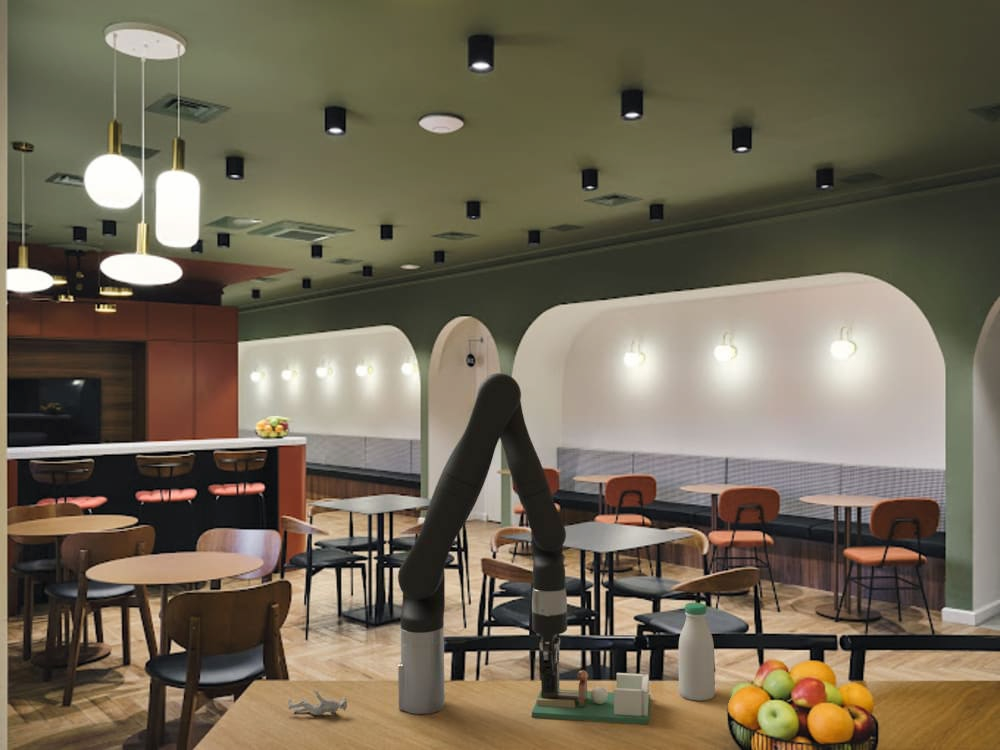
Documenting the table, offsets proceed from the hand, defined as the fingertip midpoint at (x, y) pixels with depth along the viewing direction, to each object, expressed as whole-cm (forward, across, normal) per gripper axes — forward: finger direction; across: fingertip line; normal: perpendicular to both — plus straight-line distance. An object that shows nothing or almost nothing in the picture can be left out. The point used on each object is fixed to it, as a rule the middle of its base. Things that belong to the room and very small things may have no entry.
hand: (550, 688), depth 188 cm
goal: (+3, 0, +17) cm, 18 cm away
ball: (+1, 0, +10) cm, 11 cm away
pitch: (+4, 0, +9) cm, 10 cm away
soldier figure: (+4, +13, -48) cm, 50 cm away
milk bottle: (+4, -11, +31) cm, 33 cm away
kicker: (+2, 0, +3) cm, 4 cm away
